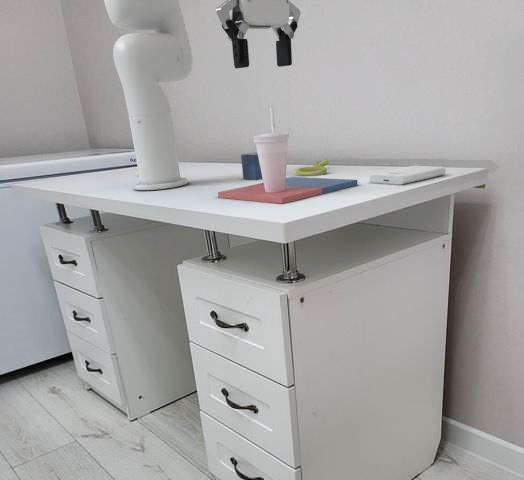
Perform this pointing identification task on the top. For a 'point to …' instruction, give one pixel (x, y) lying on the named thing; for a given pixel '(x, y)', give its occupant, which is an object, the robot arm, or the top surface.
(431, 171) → the hard drive
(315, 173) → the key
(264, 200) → the board
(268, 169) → the smoothie
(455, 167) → the top surface
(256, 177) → the blue block
